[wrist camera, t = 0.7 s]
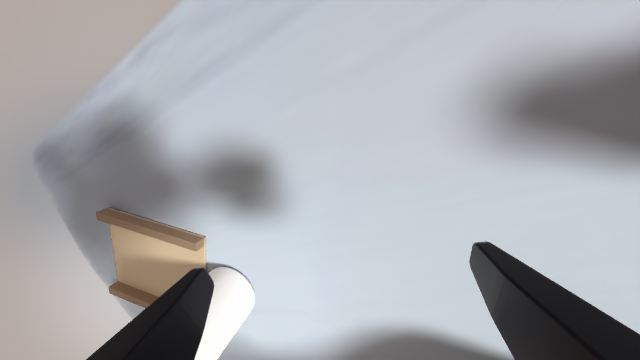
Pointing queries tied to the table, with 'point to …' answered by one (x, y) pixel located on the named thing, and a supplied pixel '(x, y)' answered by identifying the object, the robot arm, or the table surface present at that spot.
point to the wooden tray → (150, 255)
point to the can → (225, 311)
